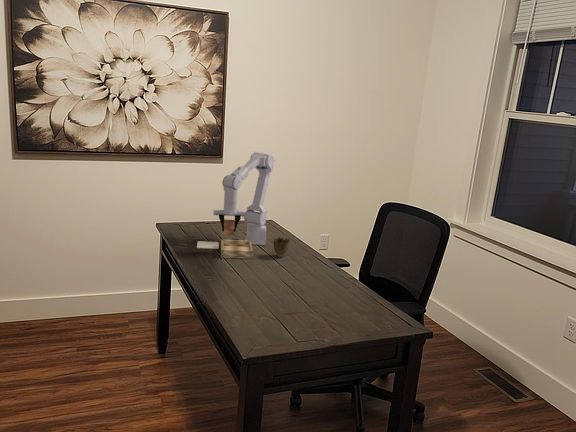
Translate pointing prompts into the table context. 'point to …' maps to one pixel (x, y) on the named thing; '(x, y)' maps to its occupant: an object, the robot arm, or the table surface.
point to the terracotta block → (229, 227)
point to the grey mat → (208, 245)
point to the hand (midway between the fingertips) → (228, 231)
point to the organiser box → (236, 249)
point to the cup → (281, 246)
